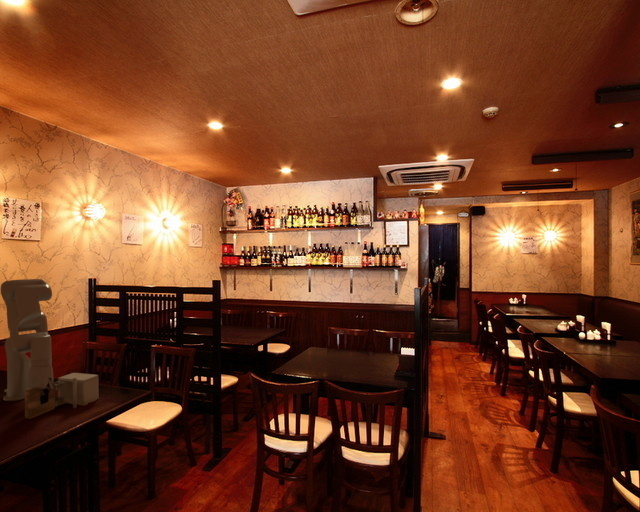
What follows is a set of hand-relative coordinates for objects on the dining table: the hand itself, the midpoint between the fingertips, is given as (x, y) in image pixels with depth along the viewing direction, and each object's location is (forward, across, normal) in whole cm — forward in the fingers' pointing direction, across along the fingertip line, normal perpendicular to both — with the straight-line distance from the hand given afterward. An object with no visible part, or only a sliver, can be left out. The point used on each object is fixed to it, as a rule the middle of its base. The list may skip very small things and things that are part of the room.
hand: (41, 402), depth 160 cm
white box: (+5, +4, +13) cm, 14 cm away
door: (+5, 0, +2) cm, 5 cm away
